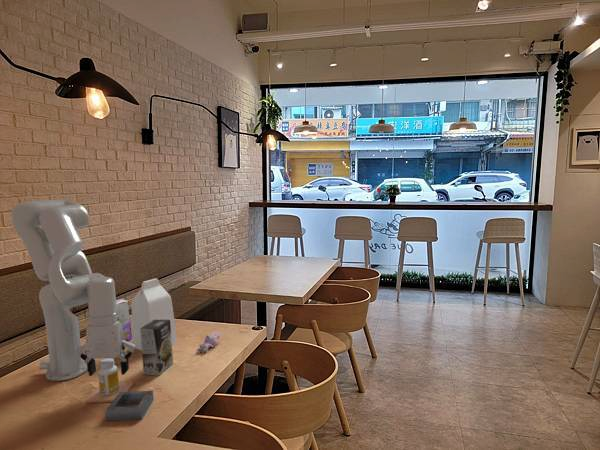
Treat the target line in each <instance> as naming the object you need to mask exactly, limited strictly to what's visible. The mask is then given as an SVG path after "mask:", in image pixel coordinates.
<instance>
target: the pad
mask: <svg viewBox="0 0 600 450" xmlns="http://www.w3.org/2000/svg"><path fill="white" fill-rule="evenodd" d="M133 385H134V382H133V381H132V382H131V381H130V382H119V390H118V391H117V392H116V393H113V394H111V395H101V394H100V389H99V386H98V387H97V388H96V389H95V390H94V391H93V392H92V393H91V395H89V396H88V398H87V399H86V400H85V403H86V404H89V403H91V404H92V403H108V402H109V403H112V401H113V400H114V399H115V398H116V396H117V395H118V394H119V393H120V392H129V390H131V388H132V386H133Z"/></svg>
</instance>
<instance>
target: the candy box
mask: <svg viewBox="0 0 600 450" xmlns="http://www.w3.org/2000/svg"><path fill="white" fill-rule="evenodd" d="M116 305H117V317H118V321H120V323H121V326H122V329H123V334H124V339H125V341H128V342H129V341H130V340H133V338H132V321H131V312H130V303H129V300H127V299H123V298H119V299H116ZM88 311H89V307H88Z"/></svg>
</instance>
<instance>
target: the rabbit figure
mask: <svg viewBox="0 0 600 450" xmlns="http://www.w3.org/2000/svg"><path fill="white" fill-rule="evenodd" d="M221 335H222V332H216V331H214V332H211V334H210V335H208V334H207V335H205V338H204V342H203V343H202V344H201V343H200V344H198V346H199V347H198V348H197V350H196V353H195V354H199V353H200V354H201V353H202V354H201V355H205V354H206V353H208V350H209V348H210V347H211V348H214V346H216V345H217V344H218V339H220V337H221Z"/></svg>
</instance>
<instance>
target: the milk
mask: <svg viewBox="0 0 600 450" xmlns="http://www.w3.org/2000/svg"><path fill="white" fill-rule="evenodd" d="M132 298H133V299H132V300H131V333H132V344H134V345H136V348H135V350H140V351H142V345H141V330H140V328H142V327H143V326H145V325H147V324H148V323H150V322H151V321H153V320H170V324H171V339H172V345H174V344H177V343H178V338H177V328H176V323H175V322H176V321H175V316H174V315H175V314H174V307H173V301H172V297H171V295H170V294H169V292H167V290H166V289H165V288H164V287H163V286H162V285H161V283H160V280H159V278H156V277H155V278H152V279H148V280H146V281H145V280H144V281H142V283H141V288H140V290H139V291H138V292H137V294H135V296H134V297H132Z"/></svg>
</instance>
